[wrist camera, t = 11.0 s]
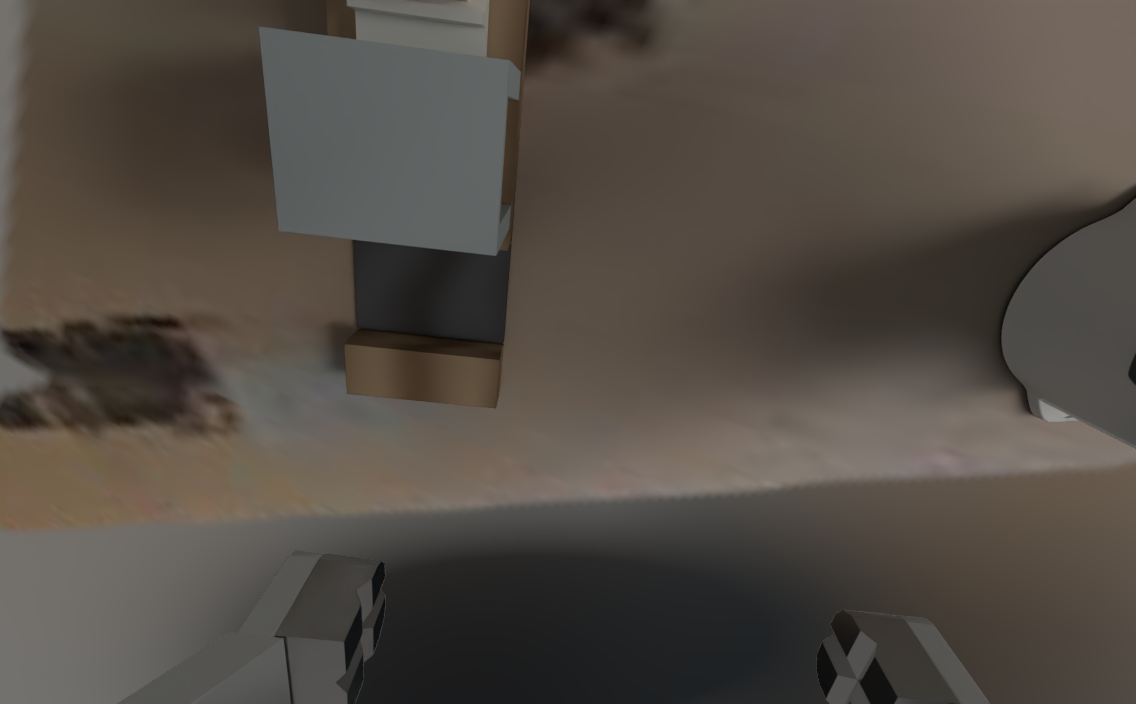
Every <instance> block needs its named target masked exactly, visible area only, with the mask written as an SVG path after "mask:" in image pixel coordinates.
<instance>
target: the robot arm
mask: <svg viewBox="0 0 1136 704" xmlns="http://www.w3.org/2000/svg"><path fill="white" fill-rule="evenodd" d="M1001 341H1002V351H1003V355H1004V358H1005V361H1006V363H1007V365H1008V367H1009V369H1010V370H1011V372H1012V373H1013V374H1014V376H1015V377H1016V378H1017V379H1018V380H1019V381H1020V382H1021V383H1022V384H1023V385H1024V387H1025V388H1026V390H1027V396H1028V402H1029V407H1030V410H1031V412H1032V414H1033V415H1034V416H1036V417H1038V418H1040V419H1042V420H1044V421H1047V422H1062V421H1075V420H1079V421H1081V422H1083V423H1085V424H1087V425H1089V426H1091V427H1093V428H1095V429H1097V430H1099V431H1101V432H1103V433H1105V434H1107V435H1109V436H1111V437H1113V438H1115V439H1117V440H1119V441H1121V442H1123V443H1125V444H1127V445H1129V446H1131V447H1133V448H1135V449H1136V198H1135V199H1134V200H1133V201H1132V202H1130V203H1129V204H1128V205H1127V206H1126V207H1124V208H1123V209H1122V210H1121V211H1119V212H1117V213H1115V214H1113V215H1111V216H1109V217H1107V218H1105V219H1103V220H1100V221H1098V222H1096V223H1093V224H1091V225H1089V226H1087V227H1085V228H1083V229H1081V230H1079V231H1077V232H1075V233H1074V234H1072V235H1071V236H1069V237H1067V238H1066V239H1065V240H1063V241H1062V242H1060V243H1059V244H1058V245H1056V246H1055V247H1054V248H1053V249H1051V250H1050V251H1049V252H1048V253H1047V254H1046V255H1044V256H1043V257H1042V258H1041V259H1040V260H1039V261H1038V262H1037V263H1036V265H1035V266H1034V267H1033V268H1032V269H1031V270H1030V271H1029V273H1028V274H1027V275H1026V277H1025V278H1024V279H1023V281H1022V282H1021V284H1020V285H1019V287H1018V288H1017V290H1016V292H1015V293H1014V295H1013V297H1012V299H1011V301H1010V304H1009V306H1008V308H1007V311H1006V314H1005V318H1004V322H1003V326H1002V337H1001ZM384 579H385V563H384V562H382V561H376V560H369V559H361V558H354V557H347V556H339V555H331V554H321V553H313V552H304V551H298V550H296V551H295V552H293V553H292V554H291V555H290V556H288V557H287V559H286V560H285V562H284V563H283V565H282V566H281V568H280V569H279V571H278V572H277V574H276V575H275V577H274V578H273V580H272V581H271V583H270V585H269V586H268V588H267V589H266V591H265V592H264V594H263V595H262V597H261V598H260V600H259V601H258V603H257V604H256V606H255V607H254V609H253V610H252V612H251V613H250V615H249V617H248V618H247V620H246V621H245V623H244V624H243V626H242V627H241V629H240V631H239V632H238V633H227V634H225V635H224V636H222V637H220V638H219V639H217V640H216V641H214V642H212V643H211V644H209V645H208V646H206V647H205V648H203V649H202V650H200V651H198V652H197V653H195V654H194V655H192V656H191V657H189V658H187V659H186V660H184V661H183V662H181V663H180V664H178V665H177V666H175V667H173V668H172V669H170V670H169V671H167V672H166V673H164V674H163V675H161V676H159V677H158V678H156V679H155V680H153V681H152V682H150V683H149V684H147V685H146V686H144V687H143V688H141V689H139V690H138V691H136V692H135V693H133V694H131V695H130V696H128V697H127V698H125V699H124V700H122V701H121V702H119V703H117V704H355V702H356V699H357V697H358V694H359V691H360V689H361V686H362V683H363V681H364V665H363V664H364V663H363V662H365V661H366V660H367V659H368V658H369V657H371V656H372V655H373V654H374V651H375V648H376V646H377V643H378V640H379V637H380V632H381V629H382V625H383V620H384V613H385V595H384V594H383V592H382V591H381V590H380V589H381V587H382V584H383V581H384ZM831 627H832V629H833V631H834V634H833V635H831V636H830V637H828V638H827V639H825V640H824V641H822V643H821V646H820V648H819V650H818V653H817V675H818V679H819V684H820V686H821V689H822V691H823V694H824V696H825V698H826V700H827V701H828V702H829V703H830V704H990V703H989V702H988V700H987V699H986V697H985V696H984V695H983V693H982V692H981V690H980V689H979V688H978V686H977V685H976V683H975V682H974V681H973V679H972V678H971V676H970V675H969V674H968V672H967V671H966V669H965V668H964V667H963V665H962V664H961V662H960V661H959V660H958V658H957V657H956V655H955V654H954V653H953V651H952V650H951V648H950V647H949V646H948V644H947V643H946V641H945V640H944V639H943V637H942V636H941V634H940V633H939V631H938V630H937V629H936V628H935V626H934V625H933V624H932V623H931V622H929V621H928V620H927V619H925V618H919V617H909V616H898V615H896V616H894V615H891V614H881V613H870V612H859V611H849V610H841V611H839V612H838V613H836V614H835V616H834V618H833V620H832V622H831Z"/></svg>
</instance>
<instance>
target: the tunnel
mask: <svg viewBox="0 0 1136 704" xmlns="http://www.w3.org/2000/svg"><path fill="white" fill-rule="evenodd" d="M259 35H260V45H261V55H262V65H263V76H264V86H265V96H266V106H267V116H268V126H269V136H270V147H271V157H272V167H273V177H274V187H275V197H276V208H277V218H278V228H279V231H283V232H291V233H300V234H309V235H318V236H326V237H335V238H344V239H353V240H361V241H370V242H379V243H388V244H396V245H405V246H414V247H423V248H431V249H440V250H449V251H458V252H466V253H475V254H484V255H493V256H496V255H497V253H498V251H499V249H500V247H501V245H502V243H503V241H504V239H505V237H506V234H507V232H508V230H509V225H510V211H511V205H505V204H501V195H502V180H503V165H504V150H505V135H506V120H507V105H508V99H512V100H519V90H520V76H521V72H520V71H519V69H518V68H517V67H516V66H515V65H514V64H513V63H512V62H511V61H509V60H504V59H496V58H489V57H482V56H474V55H467V54H460V53H452V52H445V51H437V50H430V49H423V48H415V47H408V46H400V45H393V44H386V43H378V42H371V41H363V40H356V39H349V38H341V37H334V36H327V35H319V34H312V33H304V32H297V31H290V30H282V29H275V28H267V27H260V26H259Z"/></svg>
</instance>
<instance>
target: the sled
mask: <svg viewBox="0 0 1136 704" xmlns="http://www.w3.org/2000/svg"><path fill="white" fill-rule="evenodd" d="M347 6H348V7H350V8H352V9H354V10H355V17H356V40H363V41H371V42H378V43H386V44H393V45H400V46H408V47H415V48H423V49H430V50H437V51H445V52H452V53H460V54H467V55H474V56H482V57H487V38H488V18H489V0H468V2H465V1H458V0H347Z"/></svg>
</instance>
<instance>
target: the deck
mask: <svg viewBox="0 0 1136 704" xmlns="http://www.w3.org/2000/svg"><path fill="white" fill-rule="evenodd" d="M529 6H530V0H489V18H488V38H487V57H489V58H496V59H504V60H509V61H511V62H512V63H513V64H514V65H515V66H516V67H517V68H518V69H519V71H520V72H521V76H520V90H519V100H512V99H508V105H507V120H506V135H505V150H504V165H503V180H502V195H501V204H505V205H511V211H510V225H509V230H508V232H507V234H506V237H505V239H504V241H503V243H502V245H501V247H500V249H499V251H498V253H497V255H496V256H493V255H484V254H475V253H466V252H458V251H449V250H440V249H431V248H423V247H414V246H405V245H396V244H388V243H379V242H370V241H361V240H354V258H355V282H356V305H357V328H365V329H358V330H357V331H356V332H355V333H354V334H353V335H352V337H351V338H350V339H349V340H348V341H347V342H346V343H345V344H344V350H345V368H346V387H347V394H355V395H365V396H375V397H386V398H396V399H406V400H416V401H426V402H437V403H447V404H457V405H467V406H477V407H488V408H496V406H497V401H498V397H499V392H500V385H501V372H502V359H503V346H504V344H499V343H504V333H505V320H506V307H507V294H508V281H509V267H510V254H511V241H512V228H513V215H514V202H515V189H516V176H517V163H518V150H519V137H520V124H521V111H522V97H523V84H524V71H525V58H526V45H527V32H528V19H529ZM326 17H327V36H334V37H341V38H349V39H356V17H355V10H354V9H352V8H350V7H348V6H347V0H326ZM366 329H374V330H366ZM376 330H384V331H376ZM385 331H393V332H385ZM395 332H403V333H395ZM404 333H412V334H404ZM414 334H422V335H414ZM423 335H431V336H423ZM433 336H441V337H433ZM442 337H450V338H442ZM452 338H460V339H452ZM461 339H469V340H461ZM471 340H479V341H471ZM480 341H488V342H480ZM490 342H498V343H490Z"/></svg>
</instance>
